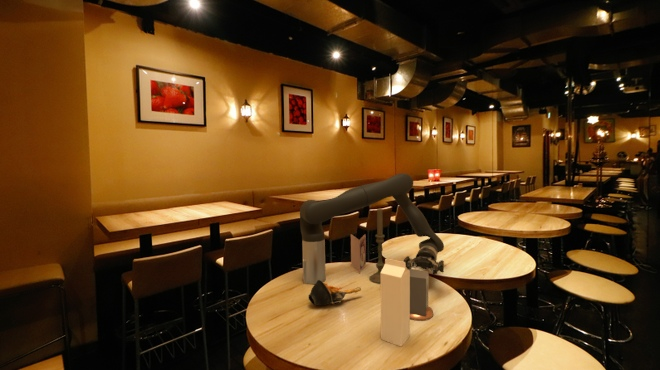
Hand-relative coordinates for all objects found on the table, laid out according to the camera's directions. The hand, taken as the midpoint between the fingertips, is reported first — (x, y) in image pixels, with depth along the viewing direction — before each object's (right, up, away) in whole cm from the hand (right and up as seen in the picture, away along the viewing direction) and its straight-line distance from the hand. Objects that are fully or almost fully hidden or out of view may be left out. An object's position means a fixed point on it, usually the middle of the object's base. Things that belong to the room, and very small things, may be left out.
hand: (421, 270), depth 105 cm
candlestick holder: (-11, -9, +18) cm, 23 cm away
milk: (-14, -12, -23) cm, 29 cm away
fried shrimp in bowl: (-30, -11, -1) cm, 32 cm away
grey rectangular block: (-4, -10, -9) cm, 14 cm away
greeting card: (-20, -8, +31) cm, 38 cm away
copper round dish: (-4, -11, -9) cm, 15 cm away
